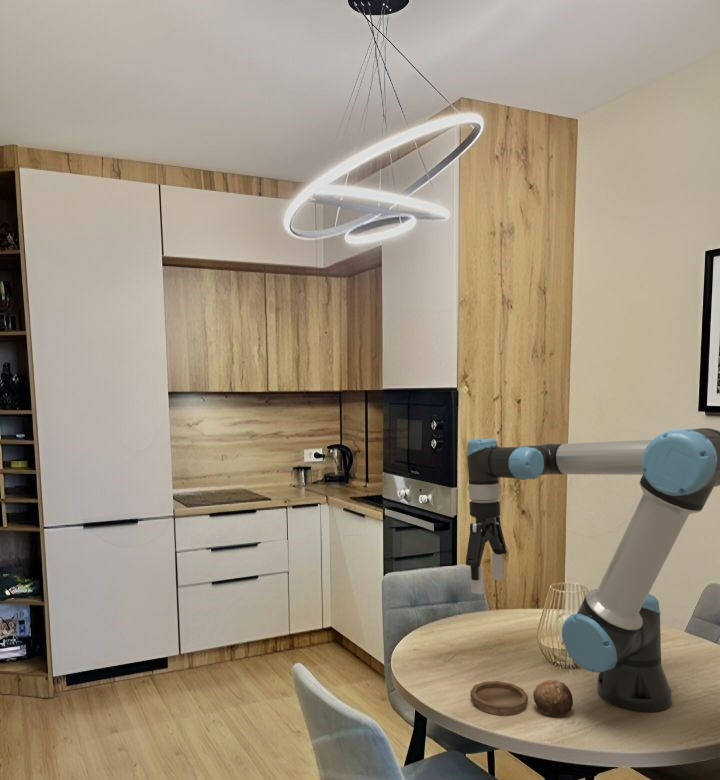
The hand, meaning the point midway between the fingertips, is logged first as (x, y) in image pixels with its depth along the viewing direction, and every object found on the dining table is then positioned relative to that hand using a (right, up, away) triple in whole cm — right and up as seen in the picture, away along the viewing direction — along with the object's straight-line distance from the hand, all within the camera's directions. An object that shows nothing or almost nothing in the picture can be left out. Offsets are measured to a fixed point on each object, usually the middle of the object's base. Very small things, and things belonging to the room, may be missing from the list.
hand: (488, 586), depth 150 cm
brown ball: (+9, -20, -21) cm, 31 cm away
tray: (-1, -20, -17) cm, 26 cm away
